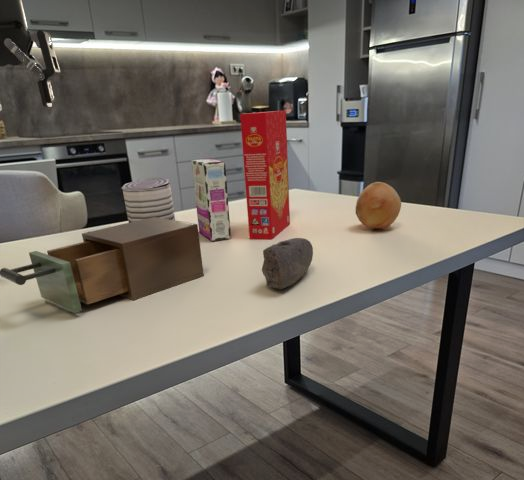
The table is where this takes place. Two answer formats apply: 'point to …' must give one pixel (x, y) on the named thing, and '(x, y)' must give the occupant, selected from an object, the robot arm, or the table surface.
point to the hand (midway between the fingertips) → (22, 109)
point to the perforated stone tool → (286, 262)
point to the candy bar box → (211, 198)
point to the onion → (378, 205)
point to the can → (148, 199)
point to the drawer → (75, 274)
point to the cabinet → (154, 253)
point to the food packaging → (266, 172)
